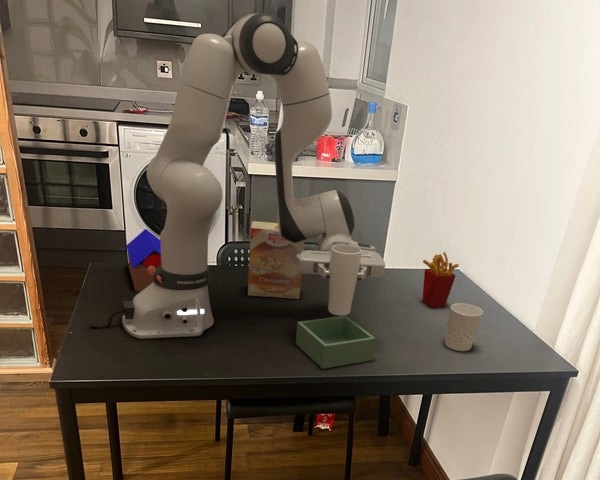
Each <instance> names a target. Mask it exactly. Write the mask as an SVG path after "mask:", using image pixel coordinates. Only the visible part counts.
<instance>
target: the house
mask: <svg viewBox="0 0 600 480" xmlns="http://www.w3.org/2000/svg"><path fill="white" fill-rule="evenodd" d="M125 247H126V250H127V262H128V263H127V264H129V265H128V271H129V275H130V277H131V281H132V284H133V287H134V291H135V292H141V291H142V290H144V289H145V288H146V287H148V286H149V285H150V284H151V283H153V282H154V279H153V276H152V275H150V274H149V272H148V270H147V269H148V268H149V266H154V267H155V268H156V269H158V268H159V267H160V266H161V246H160V238H159V237H157V236H156V235H155V234H153V233H152V232H151V231H149V230H148V229H147V228H144V229H143V231H141V232H139V234H138V235H137V236H135V237H134V238H133V239H132V240H131V241H130V242H128V243H127V244H126V245H125Z"/></svg>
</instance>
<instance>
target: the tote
mask: <svg viewBox="0 0 600 480" xmlns="http://www.w3.org/2000/svg"><path fill="white" fill-rule="evenodd" d="M376 339H377V338H376V337H375V336H374V335H372V334H371V333H369V332H368V331H367V330H366V329H364V327H362V326H360V325H359V324H358V323H357V322H355V321H354V320H352V319H351V318H350V317H349V316H348V315H344V316H331V317H325V318H317V319H311V320H302V321H297V324H296V335H295V345H296V346H297V347H299V348H300V349H301V350H302V352H304V353H305V354H306V355H307V356H308V357H309V358H310V359H311V360H312V361H313V362H314V363H315V364H317V366H319V368H321V369H322V370H324V369H330V368H335V367H341V366H347V365H352V364H359V363H365V362H370V361H373V357H374V351H375V346H376Z"/></svg>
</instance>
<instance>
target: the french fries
mask: <svg viewBox="0 0 600 480" xmlns="http://www.w3.org/2000/svg"><path fill="white" fill-rule="evenodd" d="M444 259H445V260H444ZM422 263H423V264H425V265H426V266H427V267H428V268H425V269H424V274H423V288H422V297H421V298H422V299H421V302H422V303H423V304H424V305H425V306H427V307H429V308H430V309H438V308H446V306H447V305H446V304H447V302H448V299H449V296H450V293H451V290H452V289H453V288H452V287H453V285H454V281H455V279H456V274H455V273H453V271H454V269H456V268H458V267H460V264H459V263H455V264H453V262H449V259H448V255H447V253H446V252H445V251H443V252H442V254H441V253H440V254H437V253H436V254H435V255H434V256H433V258H432V261H431V262H429V260H426V259H423V261H422Z"/></svg>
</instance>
